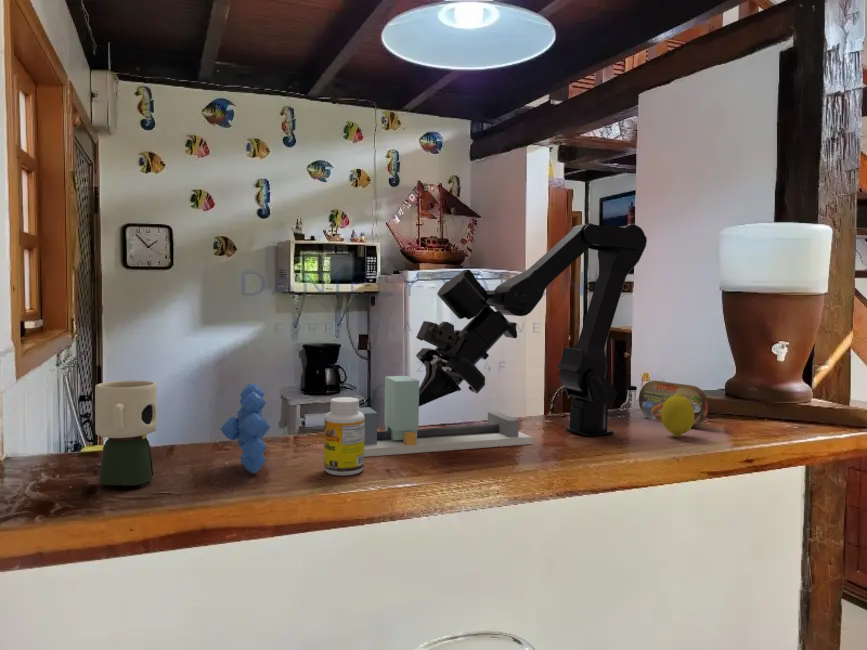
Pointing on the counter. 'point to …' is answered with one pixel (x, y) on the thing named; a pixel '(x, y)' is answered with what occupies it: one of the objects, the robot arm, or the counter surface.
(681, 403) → the lemon
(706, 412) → the tin
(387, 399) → the sleeve
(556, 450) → the counter surface
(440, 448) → the cord rig
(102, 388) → the character mug
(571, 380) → the robot arm
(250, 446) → the grapes
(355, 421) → the supplement bottle
